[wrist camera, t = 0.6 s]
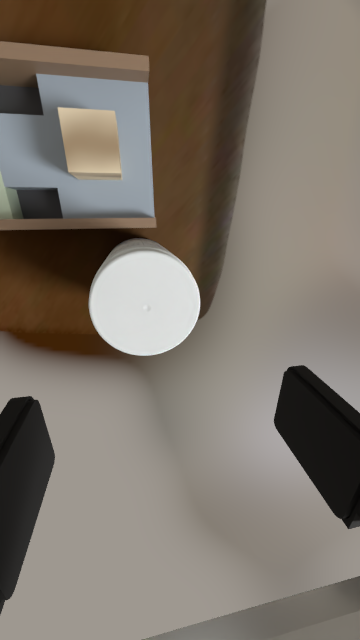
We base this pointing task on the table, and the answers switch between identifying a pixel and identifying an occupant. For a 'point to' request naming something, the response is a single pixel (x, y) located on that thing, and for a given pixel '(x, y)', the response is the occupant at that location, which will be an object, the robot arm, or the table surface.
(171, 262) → the supplement tub
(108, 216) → the box
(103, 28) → the table surface
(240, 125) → the table surface
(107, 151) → the maple block
